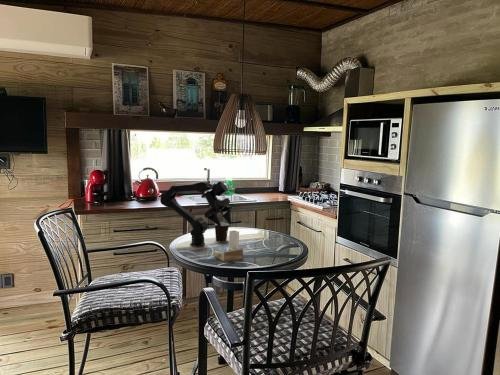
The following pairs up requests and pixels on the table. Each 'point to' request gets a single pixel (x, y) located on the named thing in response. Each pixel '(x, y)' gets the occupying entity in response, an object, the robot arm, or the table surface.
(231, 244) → the paper roll
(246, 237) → the table surface
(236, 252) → the holder
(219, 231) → the coffee mug
